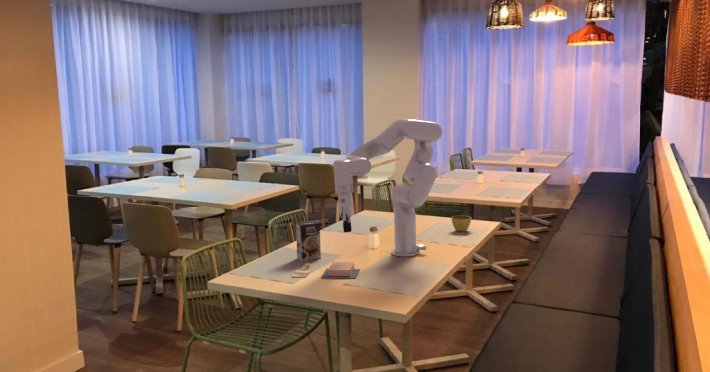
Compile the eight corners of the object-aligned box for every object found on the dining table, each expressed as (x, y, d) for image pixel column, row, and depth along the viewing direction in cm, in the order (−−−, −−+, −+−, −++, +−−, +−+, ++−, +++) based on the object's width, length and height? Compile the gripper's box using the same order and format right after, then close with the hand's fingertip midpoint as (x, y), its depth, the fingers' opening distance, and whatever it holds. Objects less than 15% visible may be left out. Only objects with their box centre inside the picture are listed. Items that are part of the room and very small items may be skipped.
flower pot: (474, 229, 309) (474, 216, 308) (466, 234, 301) (466, 220, 300) (456, 228, 315) (456, 214, 313) (448, 232, 306) (448, 218, 305)
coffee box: (302, 261, 260) (300, 225, 258) (296, 258, 266) (295, 222, 263) (321, 258, 264) (320, 222, 262) (315, 255, 270) (314, 220, 267)
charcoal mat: (360, 269, 246) (360, 269, 246) (355, 278, 234) (355, 277, 234) (326, 269, 248) (326, 268, 248) (320, 278, 236) (320, 277, 236)
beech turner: (301, 265, 255) (301, 262, 255) (315, 265, 254) (315, 262, 254) (291, 277, 238) (291, 275, 238) (306, 277, 237) (306, 275, 237)
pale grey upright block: (354, 262, 246) (350, 270, 236) (354, 268, 247) (350, 276, 236) (332, 262, 248) (327, 269, 237) (332, 268, 248) (327, 276, 237)
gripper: (350, 192, 242) (353, 236, 245) (355, 185, 256) (358, 226, 260) (332, 193, 243) (335, 236, 246) (338, 186, 257) (341, 227, 261)
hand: (347, 231), depth 253 cm, fingers closed
